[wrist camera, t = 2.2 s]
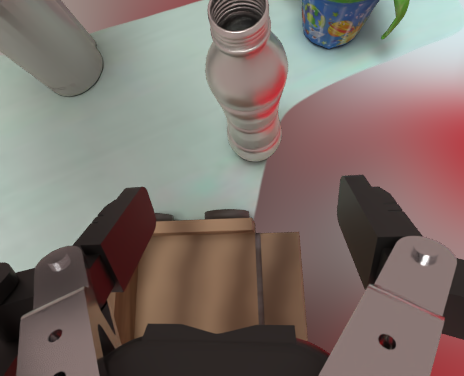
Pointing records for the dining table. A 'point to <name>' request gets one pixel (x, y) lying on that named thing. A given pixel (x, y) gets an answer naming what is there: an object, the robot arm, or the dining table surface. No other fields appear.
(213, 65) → the grey ridged cylindrical piece
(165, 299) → the tray
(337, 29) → the snack cup
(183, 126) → the dining table surface
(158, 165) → the dining table surface
